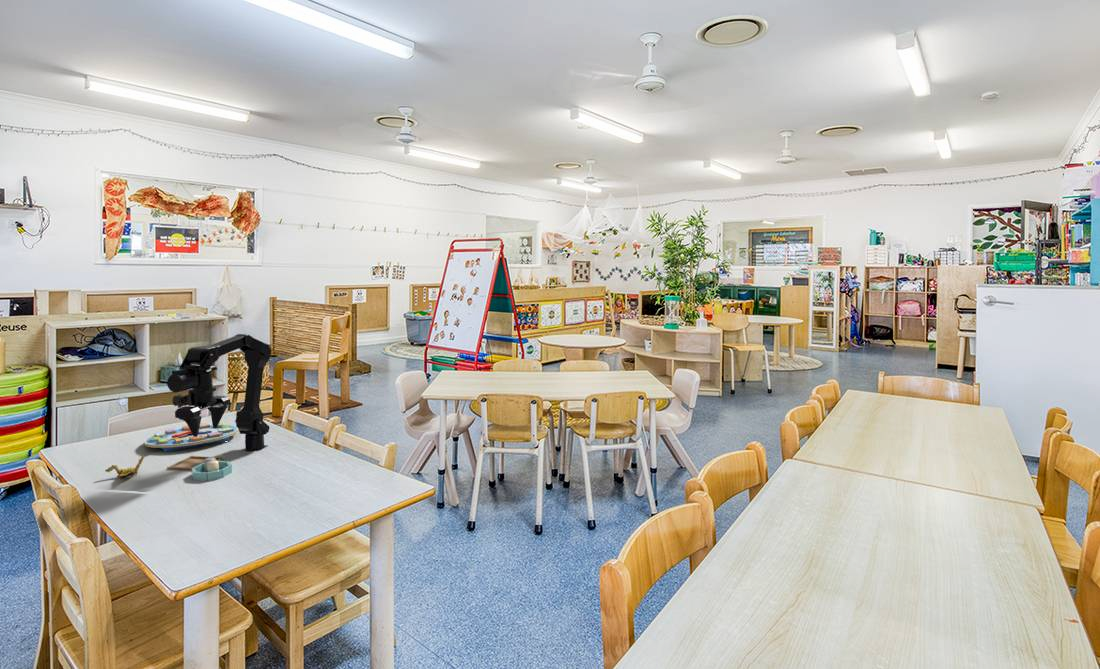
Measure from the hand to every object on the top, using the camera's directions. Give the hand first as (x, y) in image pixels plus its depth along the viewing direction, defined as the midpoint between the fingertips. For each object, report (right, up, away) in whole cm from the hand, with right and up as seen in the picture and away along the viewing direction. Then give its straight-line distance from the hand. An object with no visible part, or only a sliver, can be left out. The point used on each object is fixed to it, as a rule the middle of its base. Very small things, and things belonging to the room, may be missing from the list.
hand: (205, 432), depth 185 cm
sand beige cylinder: (+5, -13, -5) cm, 15 cm away
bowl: (+4, -14, -3) cm, 15 cm away
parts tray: (-6, -12, +5) cm, 15 cm away
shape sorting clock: (-24, -9, +31) cm, 40 cm away
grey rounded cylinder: (+3, -13, -2) cm, 13 cm away
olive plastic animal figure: (-21, -14, -6) cm, 26 cm away
